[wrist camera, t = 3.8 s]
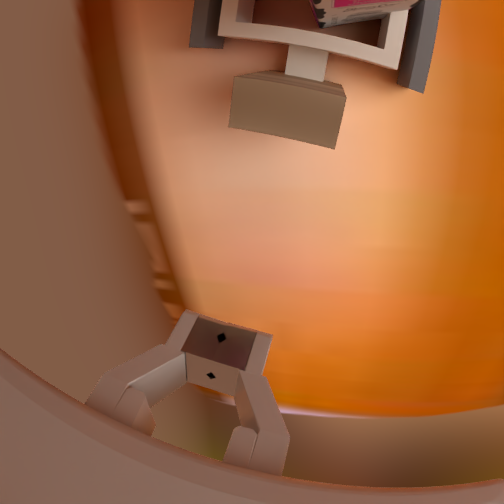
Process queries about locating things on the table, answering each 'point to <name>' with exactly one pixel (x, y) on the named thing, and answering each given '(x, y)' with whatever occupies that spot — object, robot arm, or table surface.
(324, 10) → the candy bar box
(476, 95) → the table surface
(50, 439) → the robot arm
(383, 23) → the crate carriage
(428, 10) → the bay
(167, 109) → the table surface
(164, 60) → the table surface
